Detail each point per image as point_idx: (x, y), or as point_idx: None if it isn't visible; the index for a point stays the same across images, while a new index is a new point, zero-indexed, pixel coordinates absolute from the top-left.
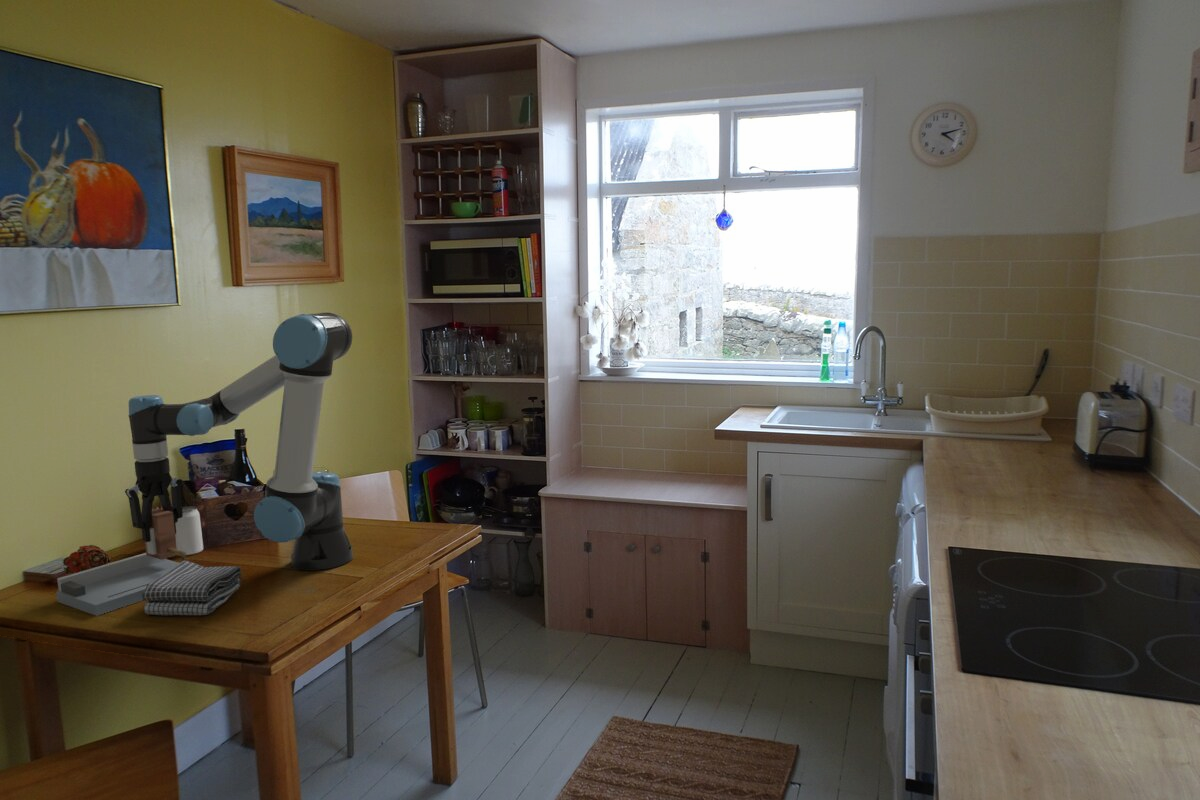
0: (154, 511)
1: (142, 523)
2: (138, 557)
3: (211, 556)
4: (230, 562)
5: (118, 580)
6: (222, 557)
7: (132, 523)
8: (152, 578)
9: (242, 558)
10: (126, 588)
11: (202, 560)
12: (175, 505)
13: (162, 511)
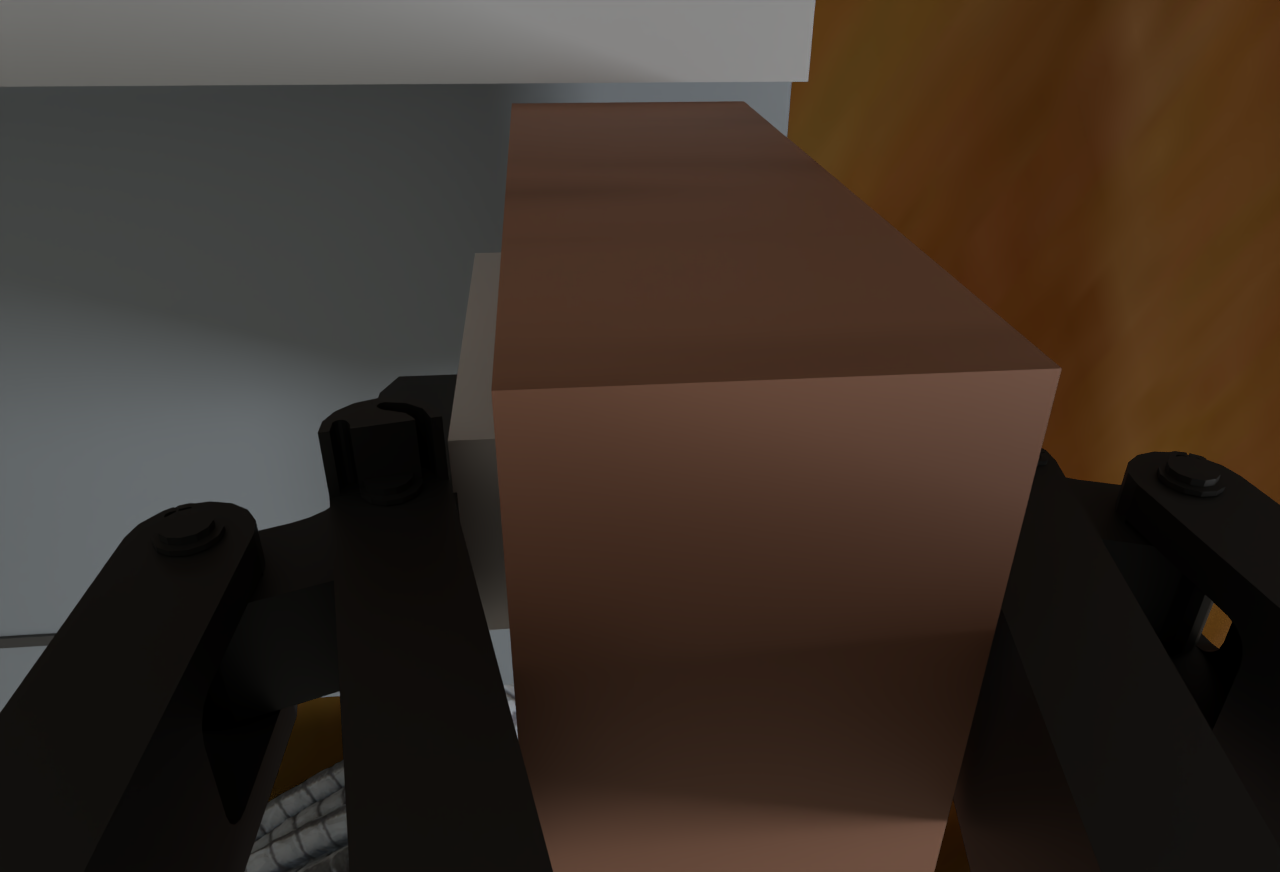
0: (766, 632)
1: (278, 757)
2: (403, 81)
3: (1241, 51)
4: (1115, 406)
5: (79, 272)
6: (1229, 200)
7: (98, 576)
8: None
9: (1231, 399)
10: (77, 573)
11: (1105, 93)
12: (1272, 793)
13: (857, 779)
